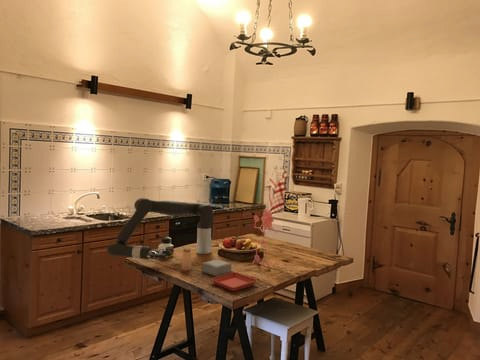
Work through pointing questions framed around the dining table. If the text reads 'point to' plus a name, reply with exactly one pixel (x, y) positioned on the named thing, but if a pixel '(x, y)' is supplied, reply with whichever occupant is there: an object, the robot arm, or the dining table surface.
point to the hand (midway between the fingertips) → (167, 254)
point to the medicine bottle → (167, 246)
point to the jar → (186, 259)
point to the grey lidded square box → (216, 267)
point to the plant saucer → (233, 281)
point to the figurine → (267, 222)
